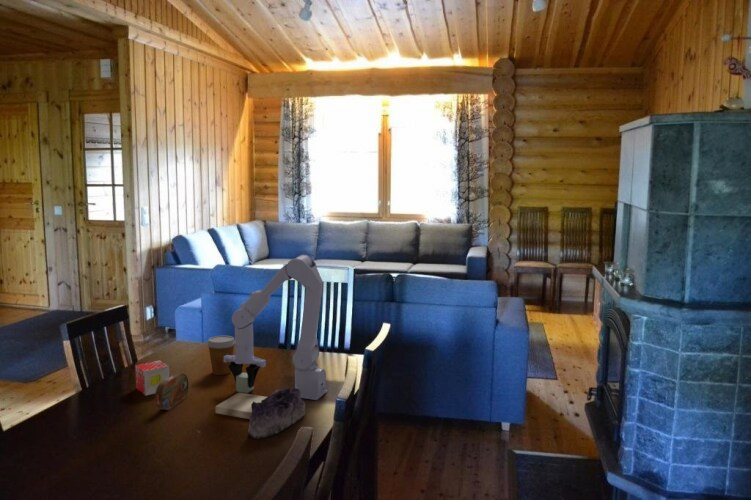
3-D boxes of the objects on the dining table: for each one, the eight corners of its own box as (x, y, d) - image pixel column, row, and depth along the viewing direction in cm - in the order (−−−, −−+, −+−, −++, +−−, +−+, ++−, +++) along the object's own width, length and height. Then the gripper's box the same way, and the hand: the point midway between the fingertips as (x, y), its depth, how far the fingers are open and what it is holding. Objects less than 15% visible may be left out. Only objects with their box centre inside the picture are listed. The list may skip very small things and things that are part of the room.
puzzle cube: (145, 395, 185) (144, 371, 184) (136, 388, 191) (135, 365, 190) (170, 389, 190) (169, 366, 189) (160, 383, 196) (159, 360, 195)
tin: (163, 414, 171) (162, 386, 170) (153, 413, 171) (152, 385, 170) (189, 395, 185) (189, 369, 184) (180, 394, 186) (179, 369, 185)
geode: (277, 444, 153) (271, 407, 152) (240, 442, 157) (234, 406, 156) (313, 412, 171) (308, 379, 170) (279, 411, 176) (274, 379, 175)
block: (253, 388, 192) (253, 373, 191) (247, 393, 188) (246, 377, 187) (243, 387, 193) (242, 372, 192) (236, 391, 189) (236, 376, 189)
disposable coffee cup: (241, 370, 209) (240, 337, 207) (221, 378, 201) (220, 344, 199) (222, 365, 214) (221, 333, 212) (202, 373, 206) (201, 339, 204)
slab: (272, 405, 179) (272, 397, 179) (251, 420, 168) (250, 412, 168) (238, 400, 183) (238, 392, 183) (215, 414, 172) (215, 406, 172)
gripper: (217, 345, 187) (218, 386, 189) (257, 350, 182) (258, 393, 184) (230, 340, 194) (231, 379, 196) (269, 344, 189) (269, 385, 191)
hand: (245, 385), depth 190 cm, fingers closed on block, 4 cm apart
